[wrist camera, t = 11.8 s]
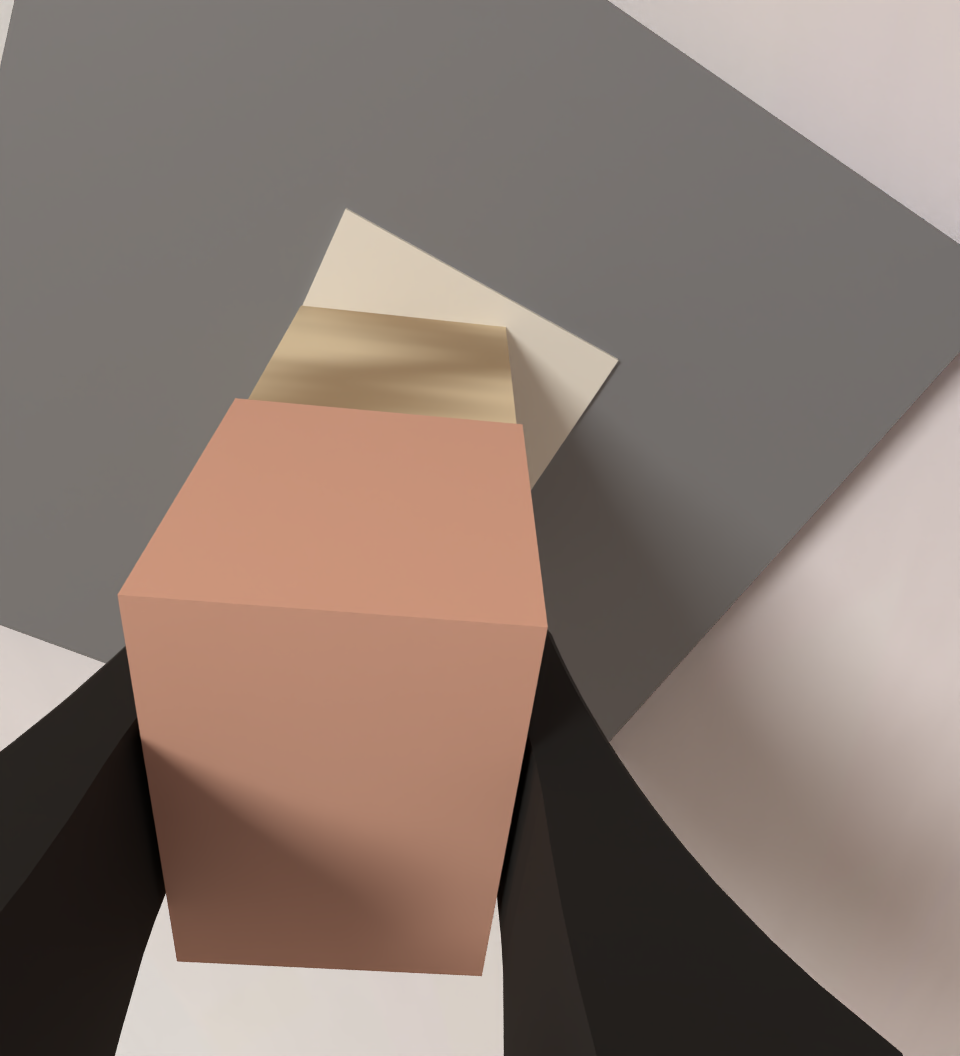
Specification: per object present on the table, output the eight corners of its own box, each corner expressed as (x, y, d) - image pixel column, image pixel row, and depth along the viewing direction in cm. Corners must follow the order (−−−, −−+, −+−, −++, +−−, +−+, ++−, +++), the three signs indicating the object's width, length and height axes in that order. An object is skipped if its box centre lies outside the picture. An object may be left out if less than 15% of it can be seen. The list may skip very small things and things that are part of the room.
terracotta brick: (521, 424, 12) (548, 626, 8) (478, 727, 15) (481, 976, 11) (235, 398, 11) (116, 595, 8) (253, 712, 15) (177, 961, 11)
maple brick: (505, 326, 16) (516, 425, 12) (473, 574, 19) (474, 712, 16) (300, 305, 16) (248, 399, 12) (302, 559, 19) (260, 696, 15)
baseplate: (992, 271, 17) (1021, 287, 16) (535, 793, 25) (538, 823, 24) (118, -331, 12) (88, -360, 11) (-88, 559, 20) (-114, 586, 19)
